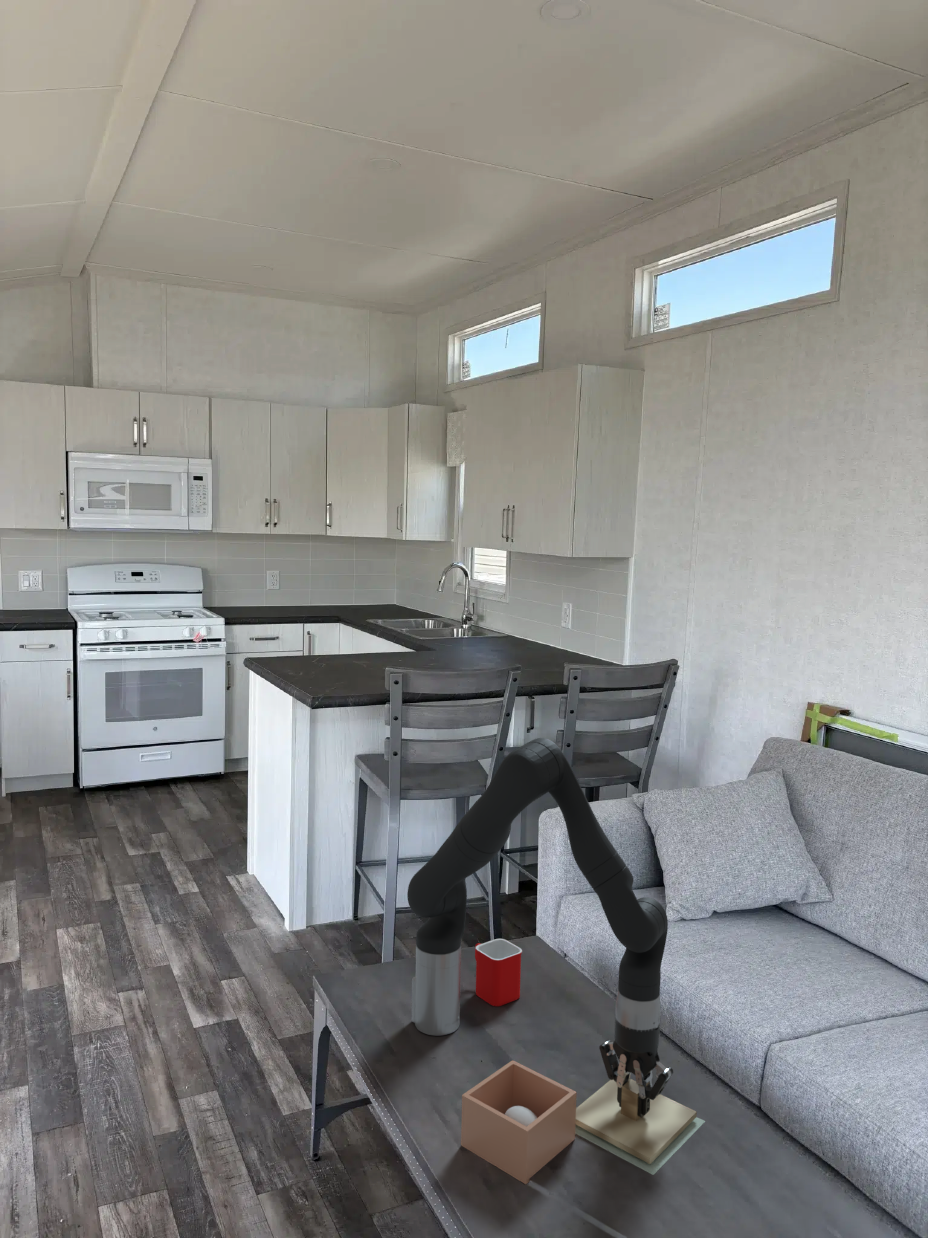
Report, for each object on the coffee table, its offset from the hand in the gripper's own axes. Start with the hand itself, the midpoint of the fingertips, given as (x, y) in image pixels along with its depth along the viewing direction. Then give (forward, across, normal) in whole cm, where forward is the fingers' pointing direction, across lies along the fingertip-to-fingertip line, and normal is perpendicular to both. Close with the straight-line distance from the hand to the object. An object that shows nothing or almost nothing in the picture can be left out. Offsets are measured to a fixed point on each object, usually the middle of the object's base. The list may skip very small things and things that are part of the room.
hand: (633, 1110), depth 162 cm
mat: (+3, 0, 0) cm, 3 cm away
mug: (+4, -47, +19) cm, 51 cm away
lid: (+2, 0, 0) cm, 2 cm away
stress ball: (+3, -11, -16) cm, 20 cm away
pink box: (+3, -12, -17) cm, 21 cm away
